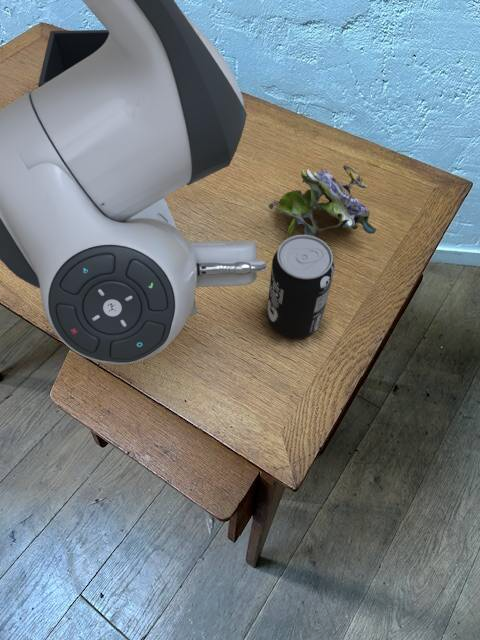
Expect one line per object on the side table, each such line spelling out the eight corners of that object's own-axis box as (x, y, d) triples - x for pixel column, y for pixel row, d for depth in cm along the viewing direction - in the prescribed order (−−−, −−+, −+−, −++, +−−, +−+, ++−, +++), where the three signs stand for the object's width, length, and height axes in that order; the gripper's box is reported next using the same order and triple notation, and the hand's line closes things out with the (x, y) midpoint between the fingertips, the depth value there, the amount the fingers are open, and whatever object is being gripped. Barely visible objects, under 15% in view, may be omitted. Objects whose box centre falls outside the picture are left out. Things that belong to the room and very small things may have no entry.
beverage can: (258, 305, 68) (263, 240, 58) (307, 290, 69) (320, 224, 59) (279, 349, 64) (288, 288, 54) (329, 332, 66) (348, 270, 56)
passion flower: (336, 246, 80) (399, 219, 70) (286, 277, 74) (346, 253, 64) (300, 176, 79) (359, 138, 69) (247, 202, 73) (302, 165, 63)
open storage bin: (55, 137, 84) (37, 84, 76) (65, 84, 91) (50, 30, 83) (143, 135, 84) (135, 82, 77) (146, 82, 92) (139, 29, 84)
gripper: (268, 230, 46) (254, 223, 59) (17, 236, 45) (61, 228, 58) (269, 305, 47) (255, 282, 60) (25, 312, 46) (66, 287, 59)
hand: (158, 255), depth 59 cm, fingers closed on ink box, 6 cm apart
